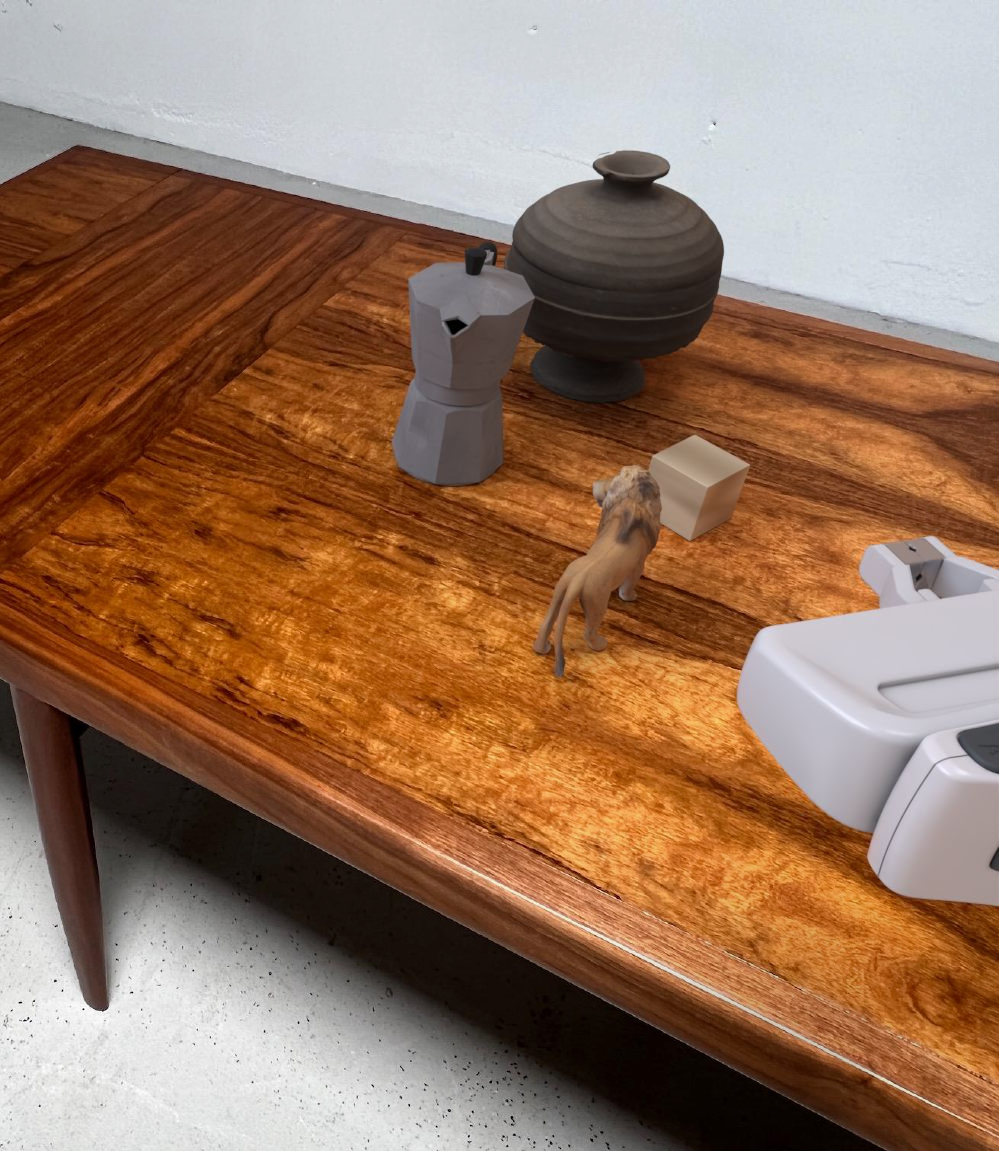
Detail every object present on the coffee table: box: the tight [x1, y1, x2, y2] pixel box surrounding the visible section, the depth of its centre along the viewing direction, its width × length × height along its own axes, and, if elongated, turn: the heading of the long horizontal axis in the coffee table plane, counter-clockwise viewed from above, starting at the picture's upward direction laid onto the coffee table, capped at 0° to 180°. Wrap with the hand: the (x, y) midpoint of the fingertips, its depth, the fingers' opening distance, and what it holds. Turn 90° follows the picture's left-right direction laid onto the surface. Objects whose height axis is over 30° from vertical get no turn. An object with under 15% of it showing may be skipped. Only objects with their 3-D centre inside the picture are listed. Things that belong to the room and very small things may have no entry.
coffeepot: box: [391, 241, 535, 487], centre depth 88 cm, size 15×9×18 cm, turn 160°
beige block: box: [647, 434, 751, 542], centre depth 86 cm, size 5×5×5 cm
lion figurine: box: [532, 464, 662, 677], centre depth 75 cm, size 15×5×9 cm, turn 152°
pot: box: [503, 149, 725, 404], centre depth 97 cm, size 18×18×20 cm
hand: (892, 552), depth 49 cm, fingers closed
